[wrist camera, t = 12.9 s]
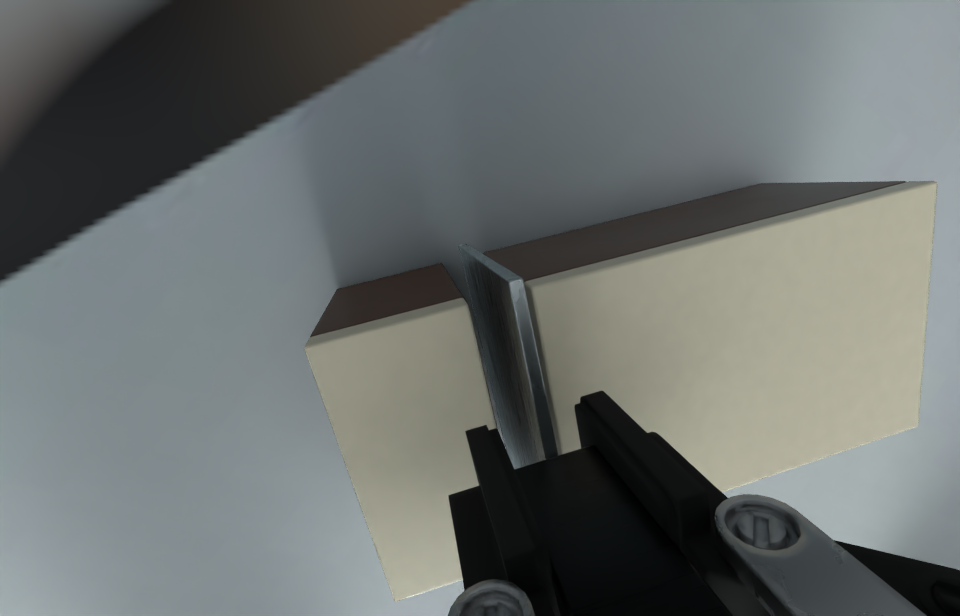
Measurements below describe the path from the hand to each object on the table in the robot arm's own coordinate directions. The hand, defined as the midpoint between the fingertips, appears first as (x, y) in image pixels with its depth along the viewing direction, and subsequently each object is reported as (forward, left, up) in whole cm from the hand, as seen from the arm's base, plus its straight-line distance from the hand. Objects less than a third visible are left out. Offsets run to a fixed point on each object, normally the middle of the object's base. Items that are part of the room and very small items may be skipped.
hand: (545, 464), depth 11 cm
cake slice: (0, -3, -8) cm, 8 cm away
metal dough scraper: (0, 0, -7) cm, 7 cm away
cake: (0, +7, -8) cm, 10 cm away
